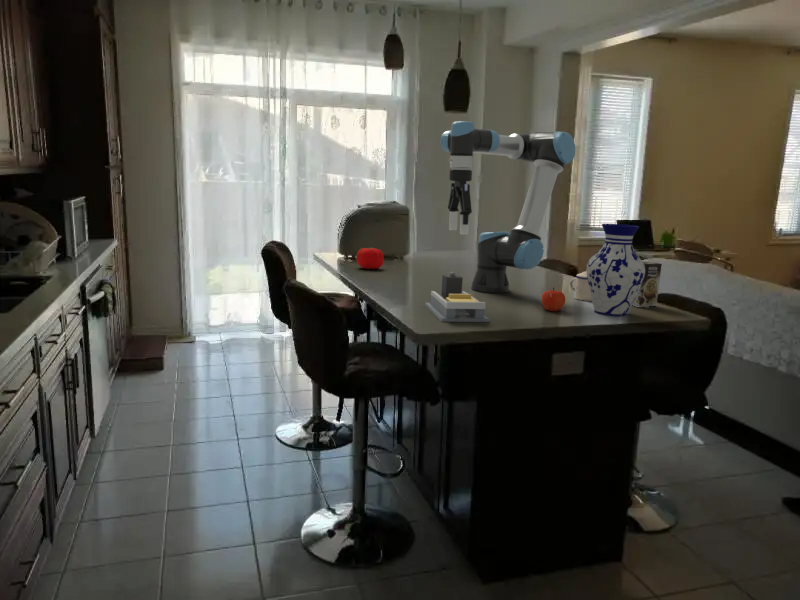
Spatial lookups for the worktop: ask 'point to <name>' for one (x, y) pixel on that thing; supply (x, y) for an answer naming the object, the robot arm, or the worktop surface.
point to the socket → (456, 309)
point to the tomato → (370, 258)
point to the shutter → (460, 298)
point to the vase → (615, 271)
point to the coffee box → (649, 286)
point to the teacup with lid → (581, 287)
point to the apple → (553, 300)
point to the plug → (451, 284)
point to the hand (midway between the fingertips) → (458, 232)
